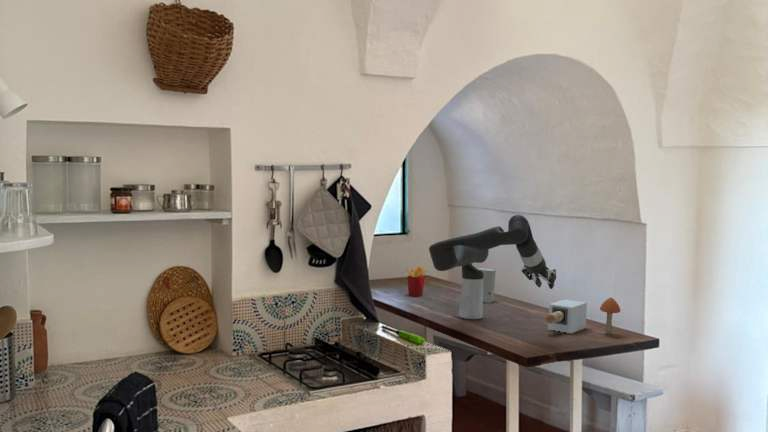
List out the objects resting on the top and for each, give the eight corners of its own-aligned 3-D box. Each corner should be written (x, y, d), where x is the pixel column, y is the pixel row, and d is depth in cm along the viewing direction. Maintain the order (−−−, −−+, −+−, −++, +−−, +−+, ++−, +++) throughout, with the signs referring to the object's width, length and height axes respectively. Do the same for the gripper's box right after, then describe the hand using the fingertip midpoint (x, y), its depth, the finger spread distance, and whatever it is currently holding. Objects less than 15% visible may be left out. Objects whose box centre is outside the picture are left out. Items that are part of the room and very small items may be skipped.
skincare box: (473, 301, 365) (474, 269, 363) (477, 299, 371) (478, 267, 370) (491, 303, 361) (492, 270, 360) (494, 301, 368) (495, 268, 367)
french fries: (406, 295, 377) (406, 265, 375) (414, 293, 383) (415, 264, 382) (421, 298, 372) (422, 267, 371) (430, 295, 379) (430, 265, 377)
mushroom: (616, 337, 297) (618, 299, 296) (596, 335, 301) (597, 297, 300) (621, 334, 304) (623, 296, 303) (601, 331, 308) (603, 294, 307)
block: (570, 333, 302) (571, 307, 301) (547, 329, 309) (548, 304, 308) (585, 327, 314) (586, 302, 313) (563, 324, 320) (564, 299, 319)
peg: (554, 324, 297) (554, 314, 297) (545, 323, 300) (545, 313, 300) (568, 320, 307) (568, 310, 307) (558, 318, 309) (559, 308, 309)
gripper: (511, 264, 286) (526, 291, 297) (546, 268, 277) (559, 296, 288) (519, 248, 290) (532, 276, 300) (553, 252, 281) (566, 281, 291)
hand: (546, 286), depth 294 cm, fingers open, 4 cm apart
